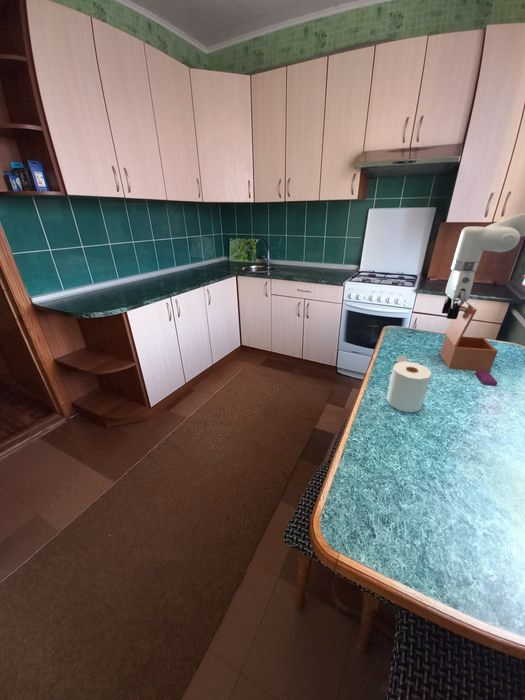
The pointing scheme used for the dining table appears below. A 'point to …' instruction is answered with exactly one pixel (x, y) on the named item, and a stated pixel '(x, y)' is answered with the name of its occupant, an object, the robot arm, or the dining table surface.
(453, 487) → the dining table surface
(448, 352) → the brown box body
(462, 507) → the dining table surface
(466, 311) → the brown box lid
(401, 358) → the spoon
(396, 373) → the toilet paper
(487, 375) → the chocolate bar
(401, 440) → the dining table surface
